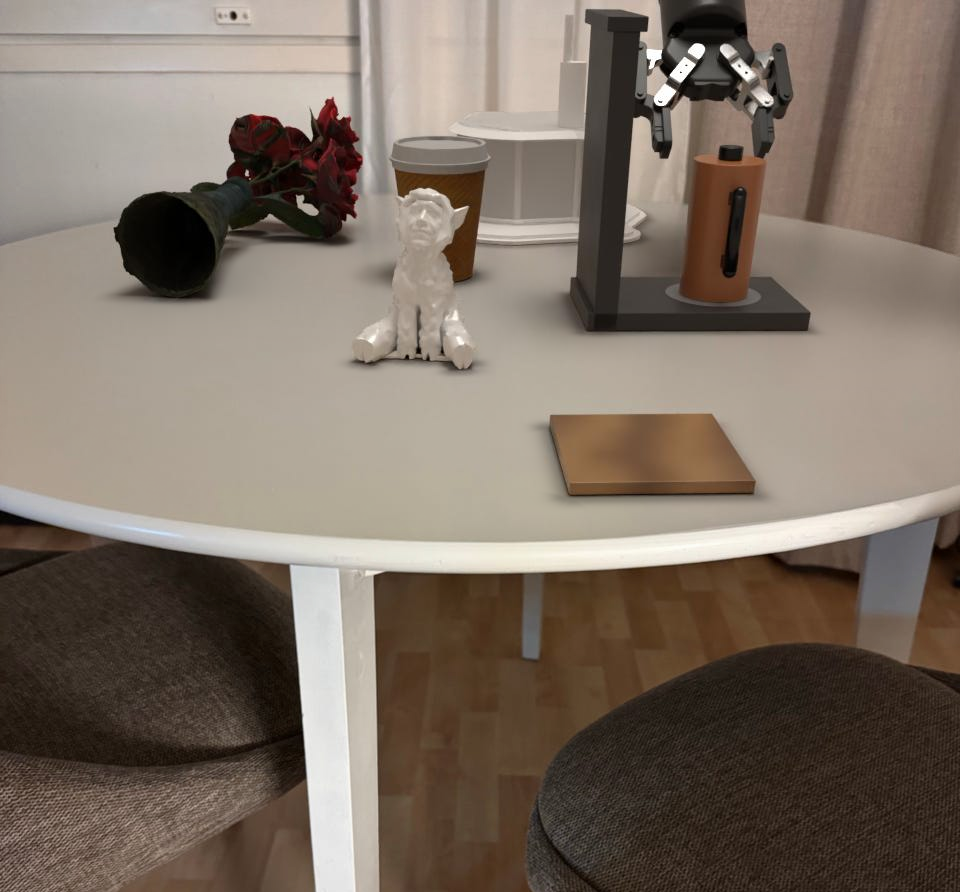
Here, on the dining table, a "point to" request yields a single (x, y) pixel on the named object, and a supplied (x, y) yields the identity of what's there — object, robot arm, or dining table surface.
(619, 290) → the coffee maker
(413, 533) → the dining table surface
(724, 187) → the thermos flask
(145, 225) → the red rose bouquet
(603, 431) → the trivet
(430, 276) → the white creature statuette
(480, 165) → the disposable coffee cup
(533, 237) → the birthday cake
